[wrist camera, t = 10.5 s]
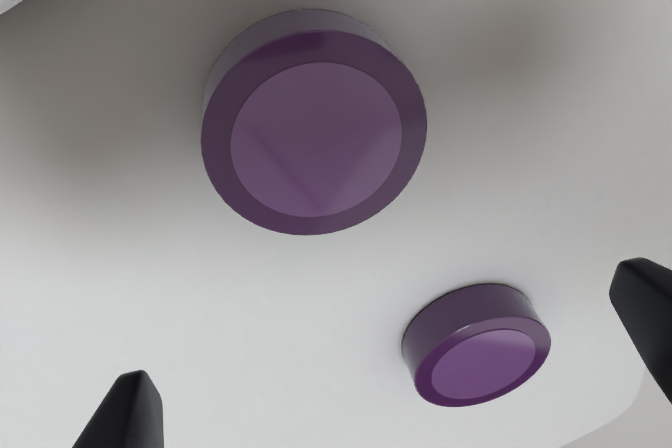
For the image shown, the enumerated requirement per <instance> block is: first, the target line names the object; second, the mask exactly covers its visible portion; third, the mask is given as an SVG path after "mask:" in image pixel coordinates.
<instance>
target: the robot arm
mask: <svg viewBox="0 0 672 448" xmlns="http://www.w3.org/2000/svg"><path fill="white" fill-rule="evenodd" d="M609 296H610V300H611V303H612V305H613V307H614V308H615V310H616V312H617V314H618V316H619V318H620V319H621V321H622V323H623V325H624V327H625V328H626V330H627V332H628V334H629V336H630V338H631V339H632V341H633V343H634V345H635V347H636V349H637V350H638V352H639V354H640V356H641V358H642V360H643V361H644V363H645V365H646V366H647V368H648V370H649V371H650V373H651V374H652V376H653V378H654V379H655V381H656V382H657V384H658V385H659V386H660V388H661V389H662V391H663V392H664V393H665V395H666V397H667V398H668V400H669V401H670V402H671V404H672V270H670V269H668V268H665V267H663V266H661V265H659V264H657V263H655V262H652V261H650V260H648V259H645V258H640V257H639V258H633V259H629V260H625V261H622V262H620V263H619V264H618V266H617V268H616V271H615V274H614V277H613V280H612V283H611V286H610V290H609ZM72 448H164V435H163V407H162V400H161V397H160V394H159V392H158V391H157V389H156V387H155V386H154V384H153V382H152V381H151V379H150V377H149V376H148V374H147V373H146V372H145V371H144V370H138V371H133V372H129V373H124V374H122V375H120V376H119V377H118V378H117V380H116V381H115V383H114V384H113V386H112V387H111V389H110V390H109V392H108V393H107V395H106V396H105V398H104V399H103V401H102V402H101V404H100V406H99V407H98V409H97V410H96V412H95V413H94V415H93V416H92V418H91V419H90V421H89V422H88V424H87V425H86V427H85V429H84V430H83V432H82V433H81V435H80V436H79V438H78V439H77V441H76V442H75V444H74V445H73V447H72Z"/></svg>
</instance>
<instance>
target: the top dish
mask: <svg viewBox="0 0 672 448" xmlns="http://www.w3.org/2000/svg"><path fill="white" fill-rule="evenodd" d="M426 132H427V117H426V109H425V104H424V99H423V96H422V94H421V91H420V89H419V86H418V84H417V82H416V81H415V79H414V77H413V75H412V74H411V72H410V71H409V70H408V69H407V67H406V66H405V65H404V64H403V62H402V61H401V60H400V59H399V57H398V56H397V55H396V54H395V53H394V51H393V50H392V49H391V48H390V47H389V45H388V44H387V43H386V42H385V40H383V39H382V38H381V37H380V36H379V35H378V34H377V33H376V32H375V31H374V30H372V29H371V28H369V27H368V26H366V25H365V24H364V23H362V22H360V21H358V20H356V19H354V18H352V17H349V16H346V15H343V14H340V13H337V12H332V11H327V10H318V9H303V10H293V11H288V12H284V13H280V14H276V15H274V16H271V17H269V18H266V19H264V20H261V21H259V22H258V23H256V24H254V25H252V26H251V27H249V28H248V29H246V30H245V31H244V32H242V33H241V34H240V35H238V36H237V37H236V38H235V39H234V40H233V41H232V42H231V43H230V44H229V45H228V46H227V47H226V48H225V50H224V51H223V52H222V54H221V55H220V56H219V58H218V59H217V61H216V63H215V65H214V66H213V68H212V70H211V72H210V75H209V77H208V80H207V83H206V86H205V91H204V96H203V105H202V124H201V151H202V157H203V162H204V166H205V169H206V172H207V174H208V176H209V179H210V181H211V183H212V184H213V186H214V188H215V189H216V191H217V192H218V194H219V195H220V196H221V197H222V199H223V200H224V201H225V202H226V203H227V204H228V205H229V206H230V207H231V208H232V209H233V210H234V211H235V212H237V213H238V214H240V215H241V216H242V217H244V218H245V219H247V220H249V221H251V222H252V223H254V224H256V225H258V226H261V227H263V228H266V229H269V230H272V231H276V232H280V233H285V234H292V235H320V234H326V233H332V232H336V231H340V230H344V229H346V228H349V227H352V226H354V225H357V224H359V223H361V222H363V221H365V220H367V219H369V218H370V217H372V216H374V215H375V214H377V213H378V212H380V211H381V210H382V209H384V208H385V207H386V206H387V205H389V204H390V203H391V202H392V201H393V200H394V199H395V198H396V197H397V196H398V195H399V194H400V192H401V191H402V190H403V189H404V188H405V186H406V185H407V184H408V182H409V181H410V179H411V178H412V176H413V174H414V172H415V170H416V168H417V166H418V164H419V162H420V159H421V156H422V153H423V150H424V146H425V141H426Z"/></svg>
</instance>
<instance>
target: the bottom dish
mask: <svg viewBox="0 0 672 448" xmlns="http://www.w3.org/2000/svg"><path fill="white" fill-rule="evenodd" d="M550 346H551V338H550V334H549V332H548V330H547V328H546V327H545V325H544V324H543V322H542V321H541V319H540V318H539V316H538V315H537V313H536V312H535V310H534V309H533V307H532V306H531V304H530V303H529V301H528V300H527V298H526V297H525V296H524V295H523V294H522V293H520V292H519V291H517V290H515V289H513V288H511V287H507V286H504V285H497V284H484V285H476V286H470V287H467V288H463V289H460V290H457V291H454V292H452V293H449V294H447V295H445V296H443V297H441V298H440V299H438V300H436V301H434V302H433V303H432V304H430V305H429V306H427V307H426V308H425V309H424V310H423V311H421V312H420V313H419V314H418V315H417V316H416V317H415V319H414V320H413V321H412V322H411V324H410V325H409V327H408V329H407V330H406V333H405V335H404V338H403V343H402V351H403V355H404V358H405V361H406V364H407V366H408V369H409V372H410V375H411V377H412V380H413V383H414V386H415V388H416V391H417V392H418V393H419V395H420V396H421V397H422V398H423V399H425V400H426V401H428V402H430V403H432V404H435V405H439V406H445V407H464V406H471V405H476V404H480V403H484V402H487V401H490V400H493V399H496V398H498V397H500V396H503V395H505V394H507V393H509V392H510V391H512V390H514V389H516V388H517V387H519V386H520V385H522V384H523V383H524V382H526V381H527V380H528V379H529V378H531V377H532V376H533V375H534V374H535V373H536V372H537V371H538V369H539V368H540V367H541V366H542V364H543V363H544V362H545V360H546V358H547V356H548V354H549V351H550Z"/></svg>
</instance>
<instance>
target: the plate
mask: <svg viewBox="0 0 672 448" xmlns="http://www.w3.org/2000/svg"><path fill="white" fill-rule="evenodd" d="M21 1H23V0H0V14H2V13H4V12H6V11H7V10H9V9H10V8H12V7H13V6H15V5H17V4H18V3H20V2H21Z"/></svg>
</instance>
